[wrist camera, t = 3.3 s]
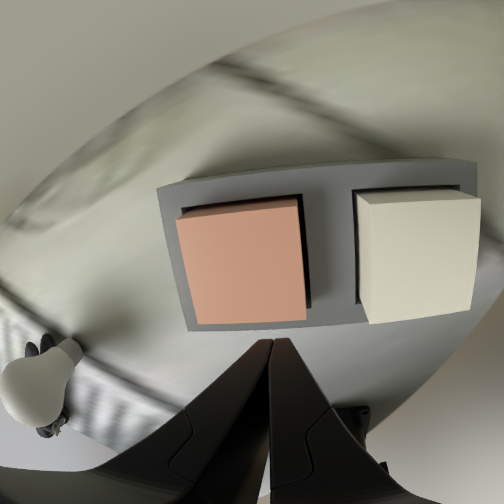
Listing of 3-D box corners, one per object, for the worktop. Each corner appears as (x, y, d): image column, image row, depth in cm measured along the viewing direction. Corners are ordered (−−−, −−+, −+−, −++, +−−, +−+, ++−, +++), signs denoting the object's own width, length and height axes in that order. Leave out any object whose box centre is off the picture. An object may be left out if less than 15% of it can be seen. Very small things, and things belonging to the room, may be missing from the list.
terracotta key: (305, 282, 19) (306, 319, 15) (217, 288, 20) (198, 324, 16) (296, 192, 17) (297, 205, 13) (202, 203, 18) (175, 219, 14)
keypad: (442, 281, 19) (466, 307, 15) (205, 301, 22) (188, 331, 18) (445, 158, 16) (476, 162, 12) (182, 180, 19) (156, 188, 15)
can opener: (74, 427, 33) (56, 453, 27) (38, 400, 33) (18, 423, 27) (75, 349, 26) (44, 381, 21) (29, 315, 26) (-3, 340, 21)
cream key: (438, 276, 16) (469, 309, 12) (355, 285, 17) (369, 324, 13) (441, 185, 15) (480, 198, 11) (351, 190, 16) (369, 204, 12)
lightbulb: (84, 315, 24) (7, 388, 14) (111, 369, 26) (53, 448, 16) (46, 319, 26) (-23, 379, 15) (72, 368, 27) (16, 433, 17)
